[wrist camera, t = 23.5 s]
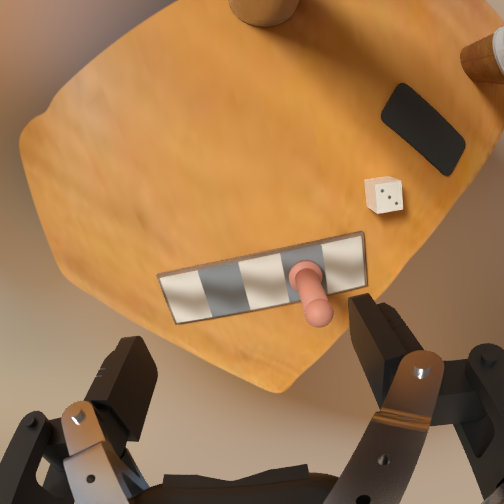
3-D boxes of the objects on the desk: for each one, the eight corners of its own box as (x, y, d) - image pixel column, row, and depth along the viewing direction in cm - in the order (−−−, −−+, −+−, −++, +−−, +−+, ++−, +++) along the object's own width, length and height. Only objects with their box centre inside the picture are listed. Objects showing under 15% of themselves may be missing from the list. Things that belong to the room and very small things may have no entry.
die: (364, 179, 41) (375, 184, 37) (388, 176, 41) (401, 180, 37) (366, 207, 42) (377, 214, 38) (391, 203, 42) (403, 210, 38)
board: (157, 273, 46) (155, 276, 45) (361, 230, 43) (364, 233, 43) (176, 322, 49) (174, 325, 48) (365, 284, 47) (367, 287, 46)
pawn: (286, 263, 44) (298, 308, 33) (318, 256, 44) (341, 298, 33) (291, 292, 46) (303, 341, 35) (322, 285, 46) (343, 332, 34)
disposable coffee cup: (493, 55, 32) (539, 49, 20) (489, 100, 35) (538, 101, 24) (455, 27, 31) (500, 12, 20) (449, 74, 34) (498, 66, 23)
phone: (401, 79, 35) (467, 142, 38) (399, 80, 36) (464, 142, 38) (379, 118, 37) (448, 179, 40) (376, 118, 38) (445, 178, 41)
